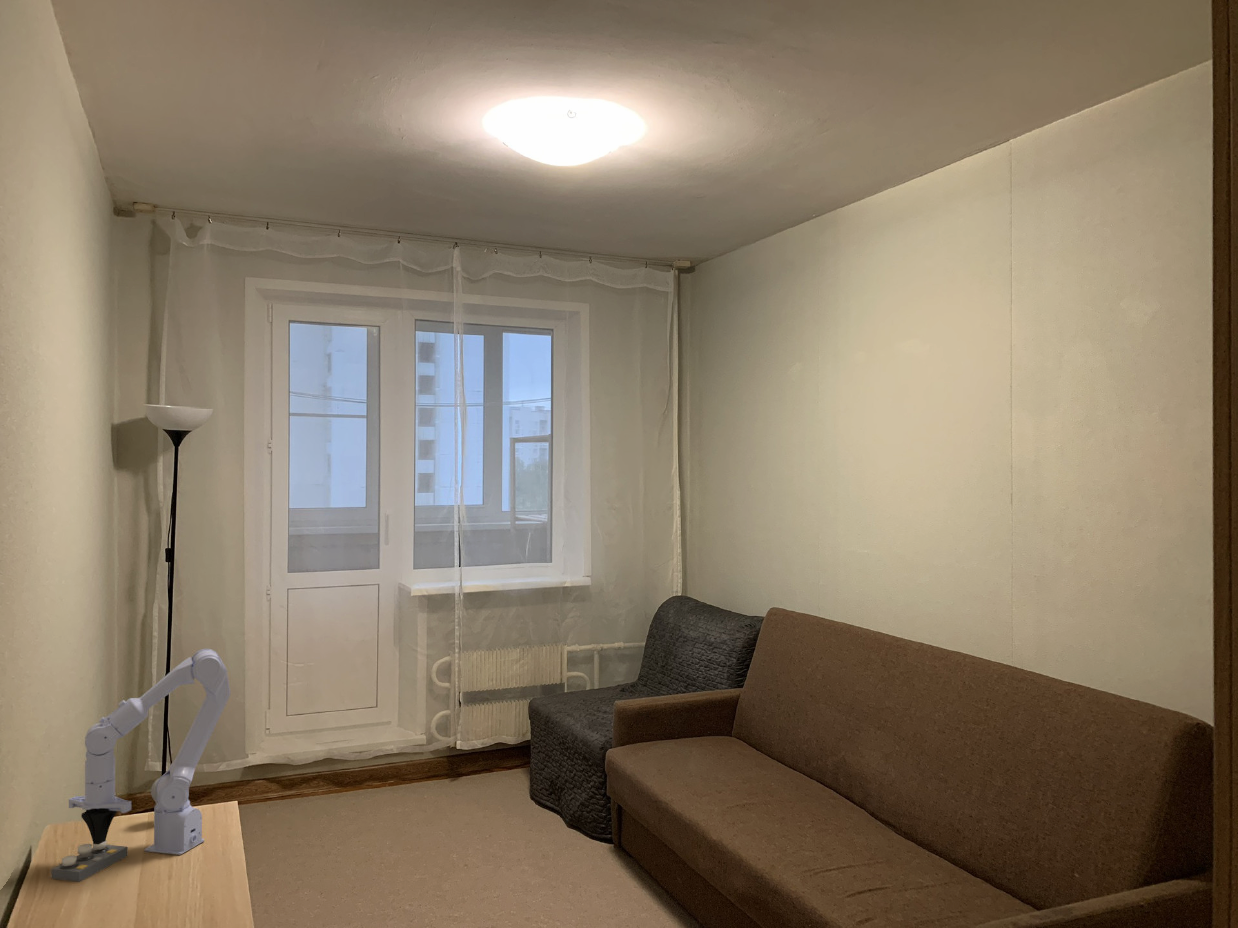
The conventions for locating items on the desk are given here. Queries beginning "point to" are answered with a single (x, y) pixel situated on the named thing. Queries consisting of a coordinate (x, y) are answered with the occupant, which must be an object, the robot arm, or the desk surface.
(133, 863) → the desk surface
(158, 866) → the desk surface
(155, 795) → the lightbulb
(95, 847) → the button right
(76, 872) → the switch panel
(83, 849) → the button middle
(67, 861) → the button left
